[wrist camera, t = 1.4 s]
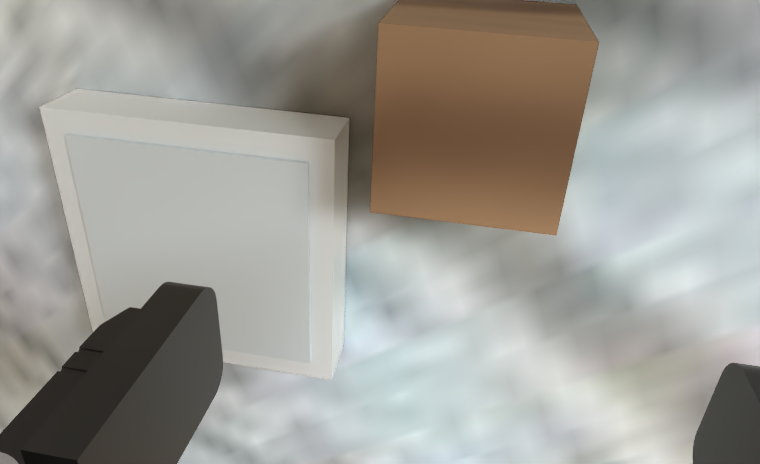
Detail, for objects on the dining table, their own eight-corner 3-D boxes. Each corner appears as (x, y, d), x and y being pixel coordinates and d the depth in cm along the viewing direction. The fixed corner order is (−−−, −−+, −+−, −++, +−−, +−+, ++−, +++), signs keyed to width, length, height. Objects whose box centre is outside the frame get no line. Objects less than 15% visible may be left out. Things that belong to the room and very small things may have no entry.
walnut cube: (407, -10, 22) (378, 23, 17) (576, 4, 22) (598, 42, 16) (396, 145, 25) (369, 211, 20) (545, 161, 25) (556, 235, 19)
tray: (76, 88, 27) (36, 108, 24) (349, 117, 25) (333, 141, 23) (121, 311, 33) (92, 344, 30) (343, 345, 31) (330, 383, 29)
